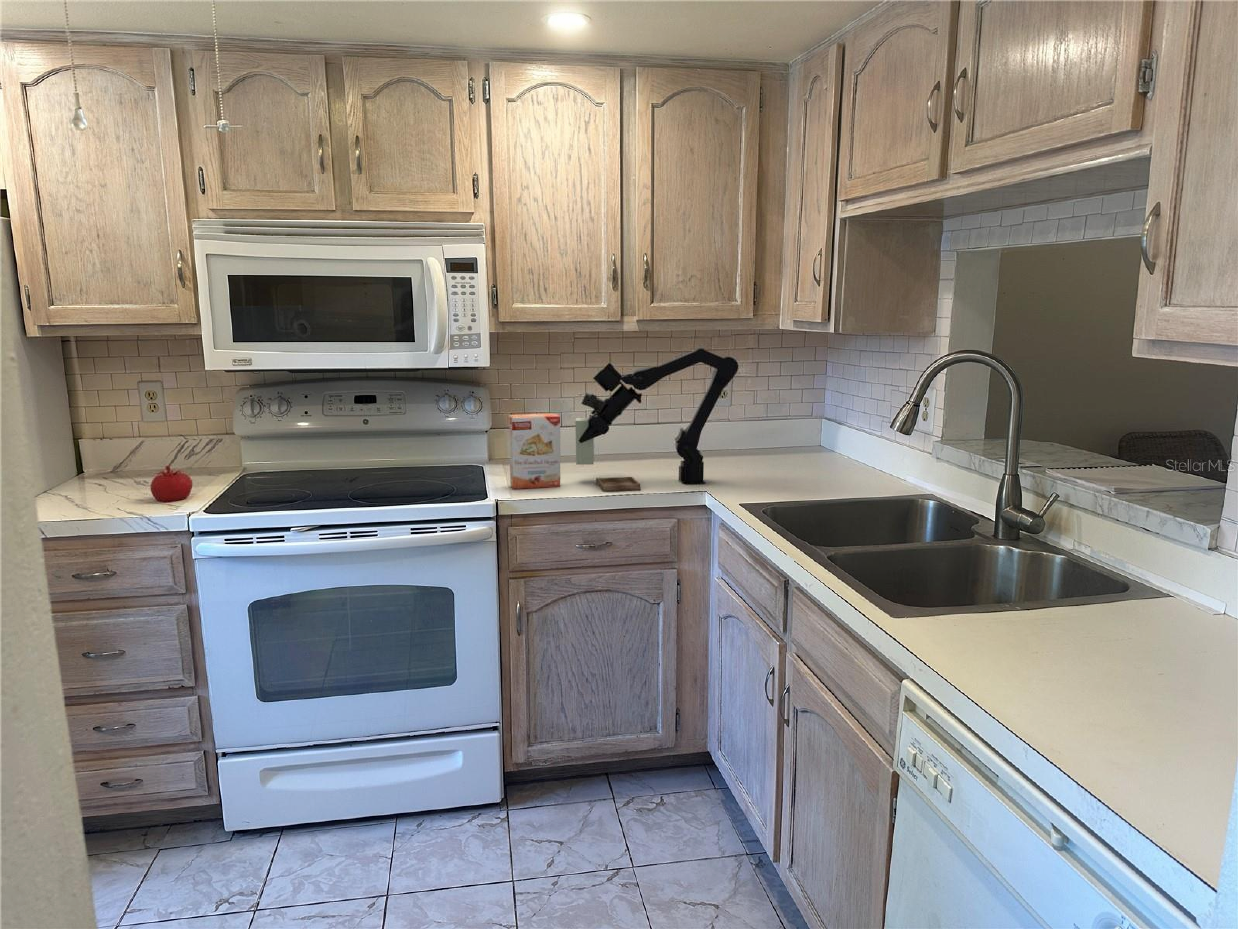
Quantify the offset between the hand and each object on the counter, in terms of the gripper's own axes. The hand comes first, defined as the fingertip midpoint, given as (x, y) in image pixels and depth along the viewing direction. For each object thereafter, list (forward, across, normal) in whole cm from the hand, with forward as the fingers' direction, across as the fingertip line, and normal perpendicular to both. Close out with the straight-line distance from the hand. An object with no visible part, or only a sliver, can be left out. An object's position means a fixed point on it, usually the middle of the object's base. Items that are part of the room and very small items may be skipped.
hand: (580, 440), depth 242 cm
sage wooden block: (+4, 0, +6) cm, 7 cm away
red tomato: (+86, +23, -69) cm, 112 cm away
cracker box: (+18, +6, 0) cm, 19 cm away
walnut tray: (+1, +7, +17) cm, 18 cm away
